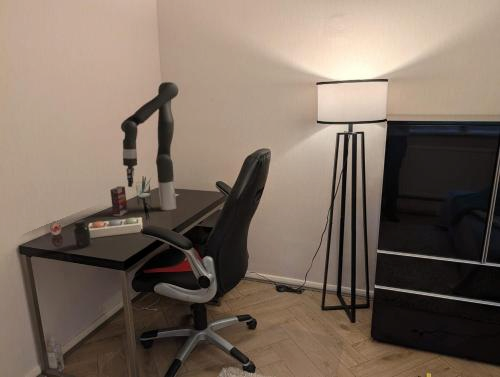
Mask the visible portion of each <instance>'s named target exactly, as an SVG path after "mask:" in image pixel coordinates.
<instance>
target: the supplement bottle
mask: <svg viewBox="0 0 500 377" xmlns="http://www.w3.org/2000/svg"><path fill="white" fill-rule="evenodd" d="M73 224H74V227H73V229H72V233H73V239H74V245H75V248H77V249H85V248H87V247H89V246H91V245H92V238H91V237H90V231H89V227H88V226H89V225H87V222H86V220H85V219H77V220H75V221H74V222H73Z"/></svg>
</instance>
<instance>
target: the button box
mask: <svg viewBox="0 0 500 377" xmlns="http://www.w3.org/2000/svg"><path fill="white" fill-rule="evenodd" d="M136 218H137V223H136V224H127V225H126V221H125V220H126V219H127V218H124V219H119V220H120V221H121V225H119V226H110V227H109V221H110V220H106V221H103V222H104V226H105V227H101V228H93V227H92V223H93V222H89V224H88V225H87V226H88V227H89V231H90V237H91V239H94V238H101V237H110V236H111V237H112V236H118V235H127V234H134V233H141V232H140V231H141V229H142V230H143V217H136Z"/></svg>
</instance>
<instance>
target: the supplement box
mask: <svg viewBox="0 0 500 377" xmlns="http://www.w3.org/2000/svg"><path fill="white" fill-rule="evenodd" d="M110 199H111V205H112V214H113V217H114V216H115V217H117V216H119V217H120V216H122V215H124V214H126V213H128V211H129V210H128V203H127V195H126V187H125V186H119V185H118V186H116V187H112V189H110Z"/></svg>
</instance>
